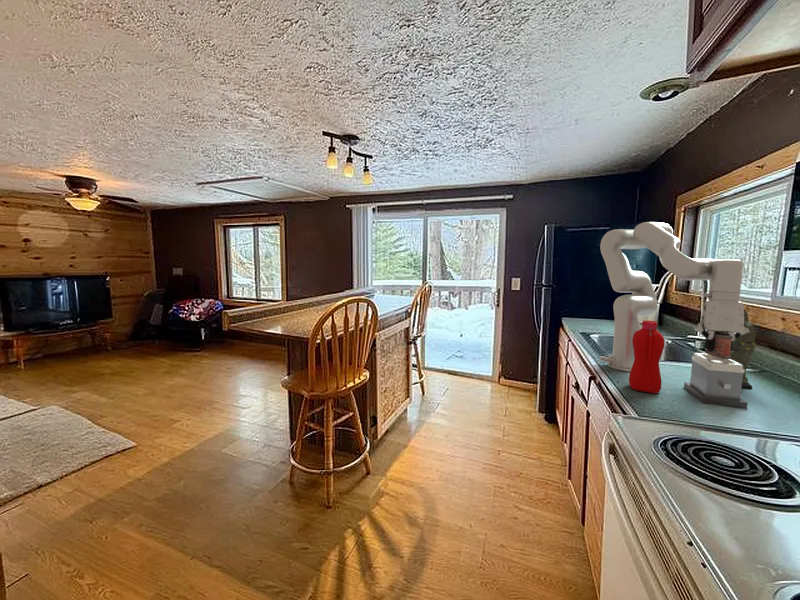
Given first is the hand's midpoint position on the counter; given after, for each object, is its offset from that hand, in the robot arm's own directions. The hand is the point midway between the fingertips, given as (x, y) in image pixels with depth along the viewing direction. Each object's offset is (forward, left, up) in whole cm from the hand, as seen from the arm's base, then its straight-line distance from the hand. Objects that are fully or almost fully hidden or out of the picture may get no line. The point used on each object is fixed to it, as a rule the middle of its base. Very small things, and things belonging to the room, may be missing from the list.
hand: (718, 350), depth 120 cm
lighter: (0, 0, -2) cm, 2 cm away
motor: (0, 0, -16) cm, 16 cm away
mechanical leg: (+14, +20, -16) cm, 29 cm away
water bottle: (-20, 0, -16) cm, 26 cm away
